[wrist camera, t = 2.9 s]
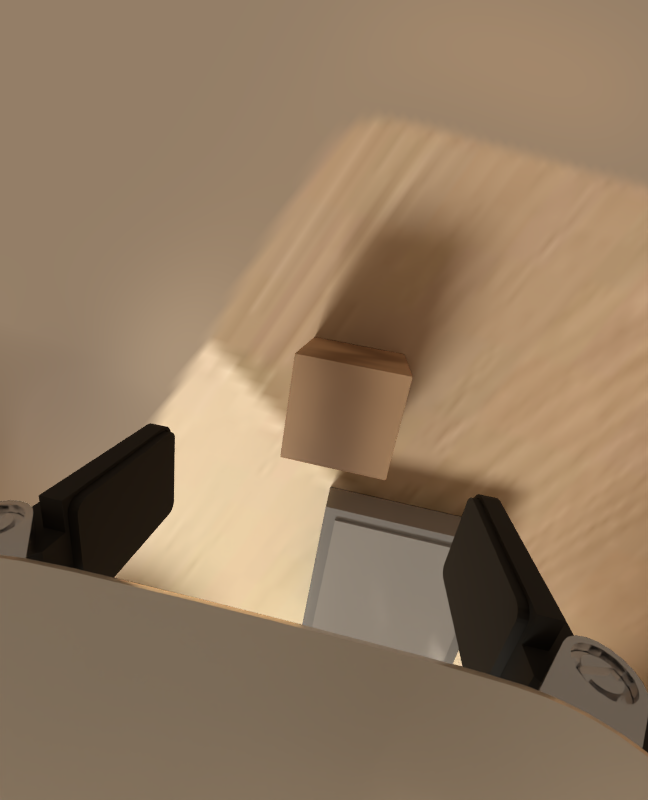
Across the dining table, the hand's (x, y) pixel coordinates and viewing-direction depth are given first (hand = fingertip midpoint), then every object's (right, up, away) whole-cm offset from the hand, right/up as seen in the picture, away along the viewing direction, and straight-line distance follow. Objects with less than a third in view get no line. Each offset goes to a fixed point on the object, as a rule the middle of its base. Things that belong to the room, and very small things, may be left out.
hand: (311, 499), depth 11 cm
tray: (+6, -10, +17) cm, 21 cm away
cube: (+2, +4, +13) cm, 14 cm away
